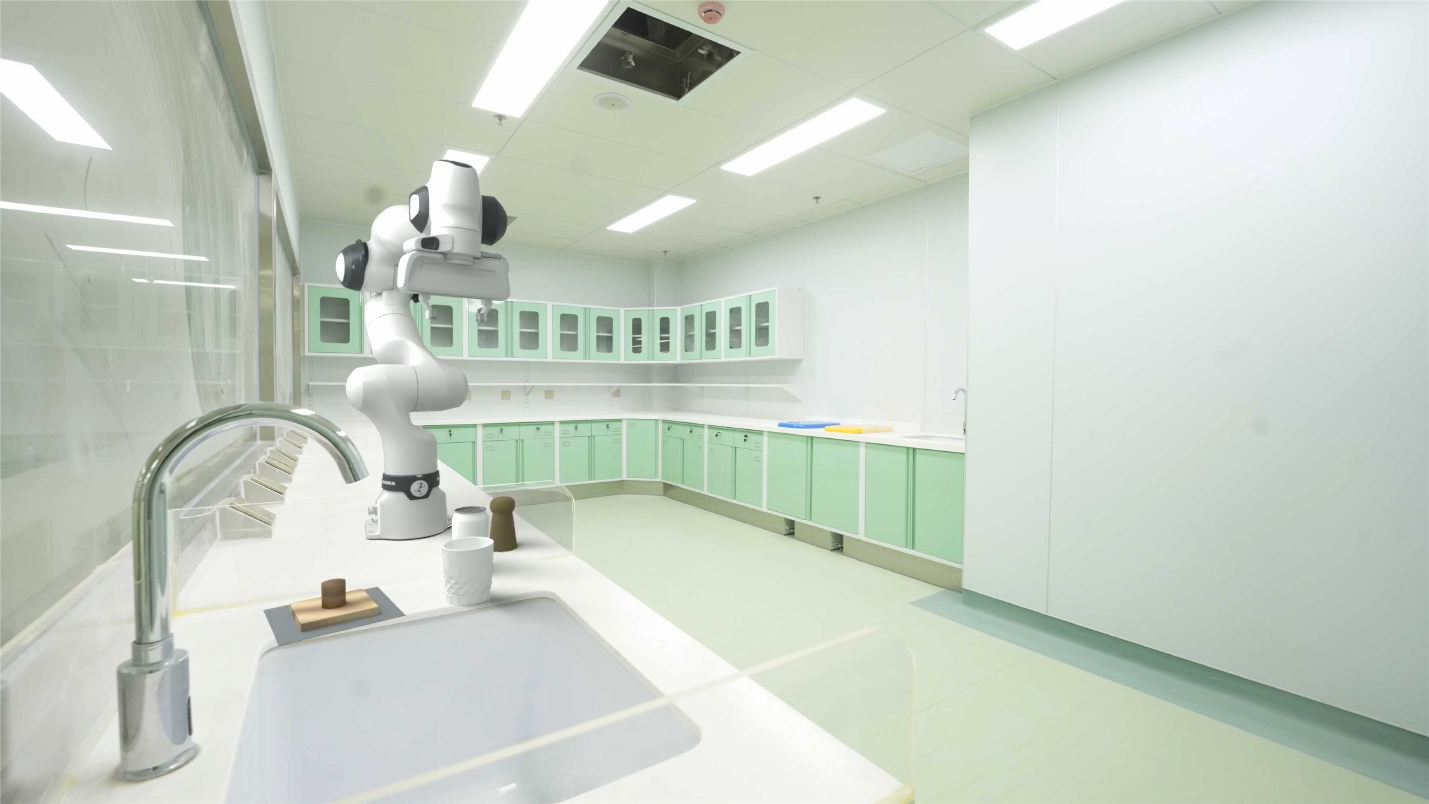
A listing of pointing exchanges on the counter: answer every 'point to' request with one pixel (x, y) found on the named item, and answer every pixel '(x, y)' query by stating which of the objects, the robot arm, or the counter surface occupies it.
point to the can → (470, 522)
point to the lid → (333, 606)
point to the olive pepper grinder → (503, 524)
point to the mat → (290, 632)
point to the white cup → (468, 570)
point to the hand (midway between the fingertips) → (456, 321)
